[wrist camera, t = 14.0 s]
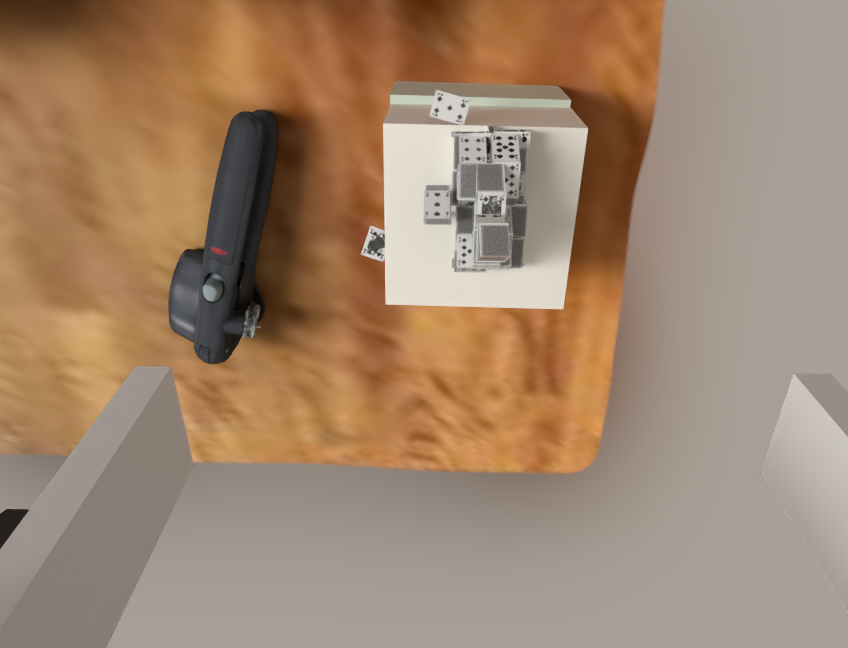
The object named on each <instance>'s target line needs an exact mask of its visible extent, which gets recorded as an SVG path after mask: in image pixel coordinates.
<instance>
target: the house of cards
mask: <svg viewBox="0 0 848 648" xmlns="http://www.w3.org/2000/svg"><path fill="white" fill-rule="evenodd" d="M470 102H471V99H468V98H464V97H460V96H457V95H453V94H450V93H446V92H443V91H439V90H436V91H435V95H434V99H433V103H432V107H431V111H430V114H429V116H430V117H434V118H437V119H441V120H444V121H448V122H452V123H455V124H459V125H464V123H465V120H466V116H467V113H468V109H469V106H470ZM451 133H452V137H454V158H453V171H452V191H451V185H426V189H425V190H424V218H423V220H424V224H425V225H451V206H456V225H457V232H456V237H455V250H454V259H452V268H454V273H487V271H488V270H509V269H522V266H524V264H523V250H524V238H521V237H526V226H527V213H528V204H527V202H526V199H525V189H526V184H525V175H526V173H527V170H528V159H529V152H530V139H531V136H532V135H531V132H530V131H529V129H494V128H493V129H492V133H489V128H487V131H451ZM451 195H452V201H451ZM361 255H364V256H367V257H370V258H373V259H376V260H379V261H382V262H383V261H384V259H385V230H382V229H379V228H376V227H373V226H370V229H369V232H368V235H367V238H366V241H365V244H364V247H363V250H362V253H361Z"/></svg>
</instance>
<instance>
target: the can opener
mask: <svg viewBox="0 0 848 648" xmlns="http://www.w3.org/2000/svg"><path fill="white" fill-rule="evenodd" d="M277 143H278V125H277V122H276V120H275V118H274V117H273V115H272V114H270V113H269V112H268V111H265V110H256V111H254V112H240V113H238V114H237V115H236V116H234V118H233V119H232V120H231V123H230V126H229V129H228V133H227V136H226V140H225V144H224V147H223V152H222V156H221V160H220V164H219V168H218V173H217V177H216V182H215V187H214V191H213V197H212V202H211V208H210V214H209V220H208V226H207V234H206V240H205V248H204V251H200V250H194V249H187V250H185V251H184V252H183V253H182V255H181V256H180V259H179V261H178V263H177V266H176V268H175V271H174V274H173V277H172V281H171V285H170V292H169V309H168V311H169V322H170V326H171V328H172V330H173V331H174V332H176V333H177V334H179V335H181V336H183V337H185V338H186V339H188V340H190V341H192V342H194V349H195V353H196V355H197V356H198V358H200V359H201V360H202V361H203V362H205V363H208V364H218V363H222V362H225V361H226V360H227V359H228V358H229V356H231V354H232V352H233V350H234V349H235V348H236V346H237V345H238V343H239V341H240V339H241V337H243V338H245V337H246V335H248V336H249V337H250V338H251V339H253V337H254V334H255V331H256V329H260V328H261V326H259V325H258V323H259V321H260V320H261V319H262V317H263V315H264V312H265V301H264V299H263V296H262V294H261V292H260V291H259V289H258V287H257V285H256V283H255V280H254V279H255V277H254V276H255V263H256V256H257V251H258V246H259V242H260V238H261V233H262V229H263V225H264V221H265V216H266V212H267V207H268V202H269V197H270V192H271V186H272V181H273V174H274V168H275V160H276V152H277Z"/></svg>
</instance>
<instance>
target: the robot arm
mask: <svg viewBox="0 0 848 648" xmlns="http://www.w3.org/2000/svg"><path fill="white" fill-rule="evenodd" d="M193 466H194V464H193V460H192V455H191V451H190V447H189V442H188V438H187V434H186V429H185V425H184V421H183V416H182V412H181V408H180V404H179V399H178V395H177V391H176V386H175V382H174V378H173V373H172V369H171V367H145V366H135V367H134V369H133V370H132V372H131V373H130V374H129V376H128V377H127V378H126V380H125V381H124V382H123V384H122V385H121V386H120V388H119V389H118V391H117V392H116V393H115V395H114V396H113V397H112V399H111V400H110V401H109V403H108V404H107V405H106V407H105V408H104V409H103V411H102V412H101V414H100V415H99V416H98V418H97V419H96V420H95V422H94V423H93V424H92V426H91V427H90V428H89V430H88V431H87V433H86V434H85V435H84V437H83V438H82V439H81V441H80V442H79V443H78V445H77V446H76V447H75V449H74V450H73V451H72V453H71V454H70V456H69V457H68V458H67V460H66V461H65V462H64V464H63V465H62V467H61V468H60V469H59V470H58V472H57V473H56V475H55V476H54V477H53V479H52V480H51V481H50V483H49V484H48V485H47V487H46V488H45V490H44V491H43V492H42V494H41V495H40V496H39V498H38V499H37V500H36V502H35V503H34V505H33V506H32V507H31V508H30V510H26V509H25V510H24V509H6V510H5V511H3V512H2V513H1V514H0V648H106V647H107V645H108V643H109V641H110V639H111V637H112V634H113V633H114V630H115V628H116V626H117V624H118V622H119V620H120V618H121V616H122V614H123V611H124V609H125V608H126V605H127V603H128V601H129V599H130V597H131V595H132V593H133V591H134V589H135V587H136V585H137V582H138V581H139V578H140V576H141V574H142V572H143V570H144V568H145V566H146V564H147V562H148V560H149V558H150V555H151V553H152V551H153V549H154V547H155V545H156V543H157V541H158V539H159V536H160V535H161V533H162V531H163V528H164V526H165V524H166V522H167V520H168V518H169V516H170V514H171V512H172V510H173V508H174V505H175V504H176V501H177V499H178V497H179V495H180V493H181V491H182V489H183V487H184V485H185V483H186V481H187V478H188V476H189V474H190V472H191V470H192V468H193ZM760 474H761V475H762V477H763V478H764V480H765V482H766V483H767V485H768V487H769V488H770V490H771V491H772V493H773V495H774V496H775V498H776V499H777V501H778V503H779V504H780V506H781V508H782V509H783V511H784V512H785V514H786V515H787V517H788V519H789V520H790V522H791V524H792V525H793V527H794V529H795V530H796V532H797V533H798V535H799V537H800V538H801V540H802V541H803V543H804V544H805V546H806V548H807V549H808V551H809V552H810V554H811V556H812V558H813V559H814V561H815V562H816V564H817V565H818V567H819V569H820V571H821V572H822V574H823V575H824V577H825V578H826V580H827V582H828V583H829V585H830V587H831V588H832V590H833V591H834V593H835V595H836V596H837V598H838V599H839V601H840V602H841V604H842V606H843V608H844V609H845V611H846V612H847V614H848V392H847V391H846V390H845V389H844V387H843V386H842V385H841V384H840V383H839V382H838V381H837V380H836V379H835V378H834V377H833V376H832V375H831V374H794V375H793V378H792V380H791V383H790V387H789V389H788V392H787V395H786V399H785V401H784V404H783V407H782V410H781V413H780V416H779V419H778V422H777V425H776V428H775V431H774V434H773V437H772V440H771V443H770V446H769V448H768V452H767V454H766V457H765V460H764V463H763V466H762V469H761V472H760Z"/></svg>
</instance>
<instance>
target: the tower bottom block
mask: <svg viewBox="0 0 848 648" xmlns="http://www.w3.org/2000/svg"><path fill="white" fill-rule="evenodd" d="M436 90H439V91H443V92H446V93H450V94H453V95H457V96H460V97H464V98H468V99H471V102H470V105H478V106H523V107H567V108H570V105H571V99H570V98H569V97H568V96H567V95H566V94H565V93H564V92H563V90H562V89H561V88H560V87H559V86H548V85H514V84H480V83H446V82H412V81H395V83H394V85H393V88H392V91H391V93H390V104H432V103H433V99H434V95H435V91H436Z"/></svg>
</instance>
